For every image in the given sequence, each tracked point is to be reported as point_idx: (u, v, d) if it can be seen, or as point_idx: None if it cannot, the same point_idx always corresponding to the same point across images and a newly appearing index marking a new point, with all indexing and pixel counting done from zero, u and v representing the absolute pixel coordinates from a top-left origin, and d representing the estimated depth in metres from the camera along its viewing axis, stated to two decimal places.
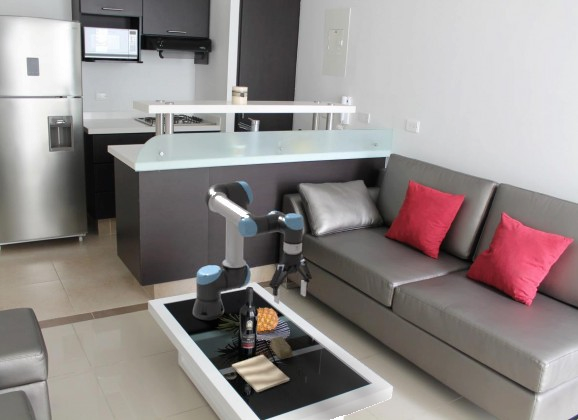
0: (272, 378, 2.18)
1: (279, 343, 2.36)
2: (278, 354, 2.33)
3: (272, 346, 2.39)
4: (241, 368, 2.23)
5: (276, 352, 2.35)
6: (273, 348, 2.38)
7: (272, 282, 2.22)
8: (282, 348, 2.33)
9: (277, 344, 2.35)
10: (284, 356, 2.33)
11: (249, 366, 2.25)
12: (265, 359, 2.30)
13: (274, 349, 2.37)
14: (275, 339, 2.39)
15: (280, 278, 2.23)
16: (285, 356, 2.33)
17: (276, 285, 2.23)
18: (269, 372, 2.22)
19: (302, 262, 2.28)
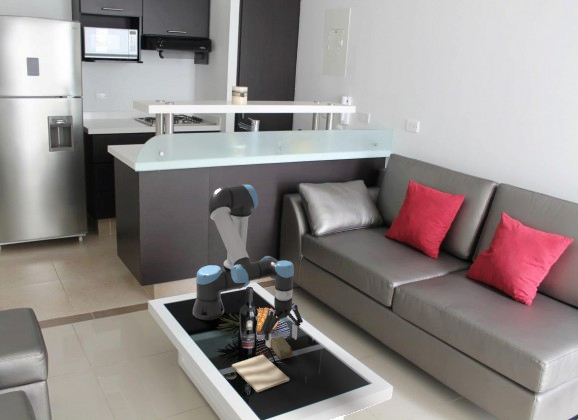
0: (272, 378, 2.18)
1: (279, 343, 2.36)
2: (278, 354, 2.33)
3: (272, 346, 2.39)
4: (241, 368, 2.23)
5: (276, 352, 2.35)
6: (273, 348, 2.38)
7: (263, 327, 2.28)
8: (282, 348, 2.33)
9: (277, 344, 2.35)
10: (284, 356, 2.33)
11: (249, 366, 2.25)
12: (265, 359, 2.30)
13: (274, 348, 2.37)
14: (275, 339, 2.39)
15: (271, 323, 2.30)
16: (285, 356, 2.33)
17: (267, 330, 2.29)
18: (269, 372, 2.22)
19: (293, 307, 2.34)
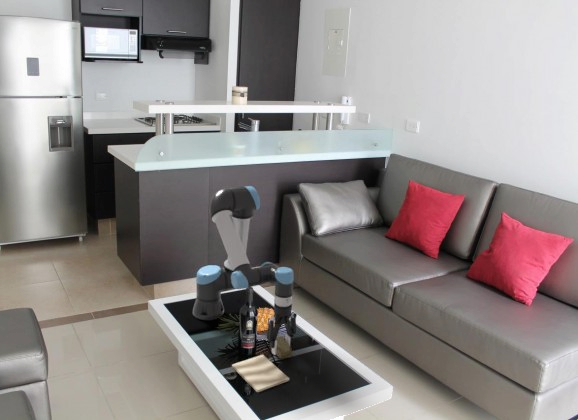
0: (272, 378, 2.18)
1: (279, 343, 2.36)
2: (278, 354, 2.33)
3: None
4: (241, 368, 2.23)
5: None
6: None
7: (268, 336, 2.31)
8: (282, 348, 2.32)
9: (277, 344, 2.35)
10: (284, 356, 2.33)
11: (249, 366, 2.25)
12: (265, 359, 2.30)
13: None
14: None
15: (275, 331, 2.32)
16: (285, 356, 2.33)
17: (273, 338, 2.32)
18: (269, 372, 2.22)
19: (292, 314, 2.36)
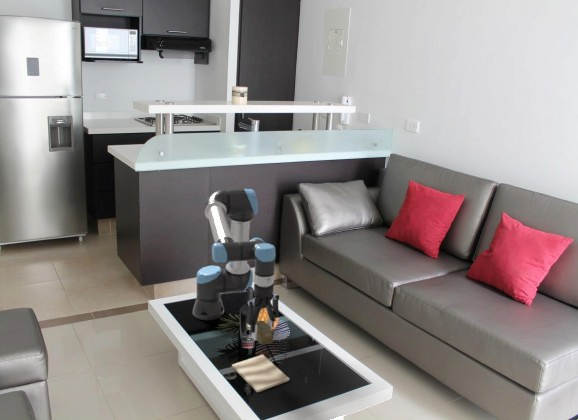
0: (272, 378, 2.18)
1: (260, 327, 2.15)
2: (259, 339, 2.13)
3: None
4: (241, 368, 2.23)
5: (257, 337, 2.14)
6: None
7: (248, 319, 2.11)
8: (263, 332, 2.12)
9: (258, 328, 2.15)
10: (265, 341, 2.12)
11: (249, 366, 2.25)
12: (265, 359, 2.30)
13: None
14: (256, 323, 2.18)
15: (255, 314, 2.12)
16: (266, 341, 2.12)
17: (253, 322, 2.12)
18: (269, 372, 2.22)
19: (274, 296, 2.15)
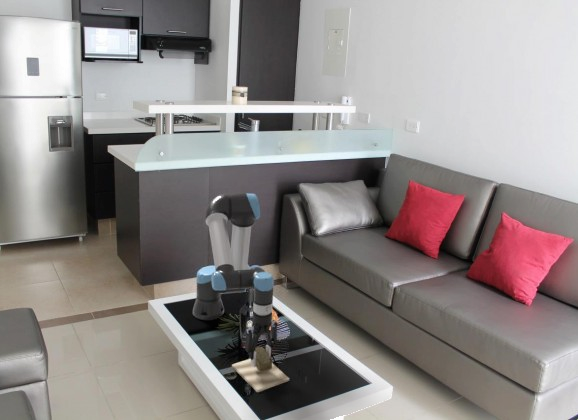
0: (272, 378, 2.18)
1: (259, 354, 2.19)
2: (257, 366, 2.16)
3: None
4: (241, 368, 2.23)
5: None
6: None
7: (247, 346, 2.14)
8: (262, 359, 2.15)
9: (256, 355, 2.18)
10: (264, 368, 2.15)
11: (249, 366, 2.25)
12: None
13: None
14: None
15: (253, 341, 2.15)
16: (265, 368, 2.16)
17: (251, 349, 2.15)
18: (269, 372, 2.22)
19: (273, 323, 2.18)
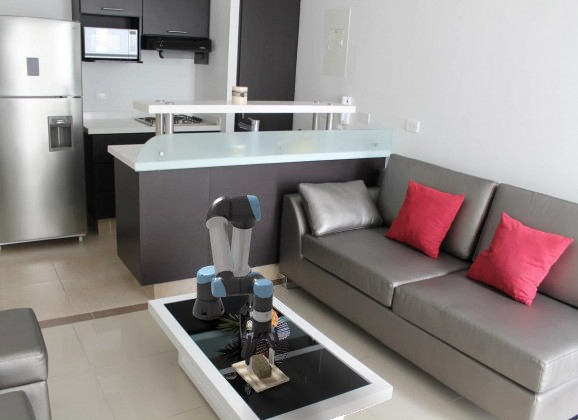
0: (272, 378, 2.18)
1: (258, 361, 2.20)
2: (257, 373, 2.17)
3: None
4: (241, 368, 2.23)
5: (255, 371, 2.19)
6: (252, 366, 2.21)
7: (243, 352, 2.14)
8: (261, 367, 2.16)
9: (256, 362, 2.19)
10: (264, 375, 2.16)
11: None
12: None
13: (253, 367, 2.20)
14: (254, 357, 2.23)
15: (251, 347, 2.15)
16: (265, 375, 2.17)
17: (248, 355, 2.15)
18: None
19: (273, 329, 2.19)
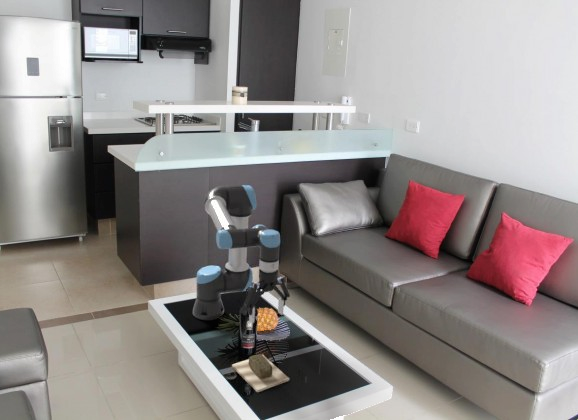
0: (272, 378, 2.18)
1: (259, 361, 2.20)
2: (258, 373, 2.17)
3: (251, 364, 2.22)
4: (241, 368, 2.23)
5: (256, 371, 2.19)
6: (252, 367, 2.21)
7: (247, 301, 2.13)
8: (262, 367, 2.16)
9: (256, 362, 2.19)
10: (264, 375, 2.17)
11: (249, 366, 2.25)
12: None
13: (253, 367, 2.20)
14: (254, 357, 2.22)
15: (255, 297, 2.14)
16: (265, 375, 2.17)
17: (251, 304, 2.13)
18: None
19: (279, 280, 2.18)
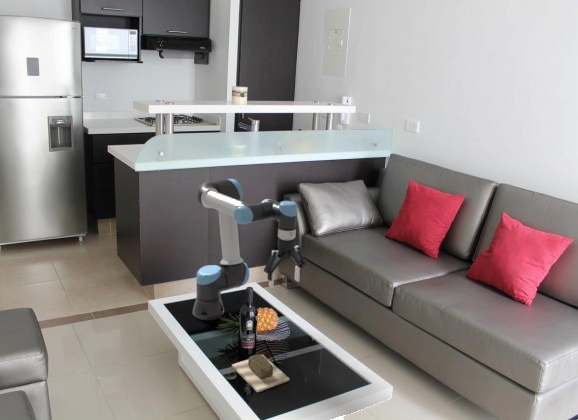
0: (272, 378, 2.18)
1: (259, 361, 2.20)
2: (259, 373, 2.17)
3: (251, 365, 2.22)
4: (241, 368, 2.23)
5: (256, 371, 2.19)
6: (252, 367, 2.21)
7: (267, 267, 2.30)
8: (263, 367, 2.16)
9: (257, 362, 2.19)
10: (265, 375, 2.17)
11: None
12: None
13: (253, 367, 2.20)
14: (253, 357, 2.22)
15: (274, 263, 2.31)
16: (266, 375, 2.17)
17: (270, 270, 2.31)
18: None
19: (296, 248, 2.36)
